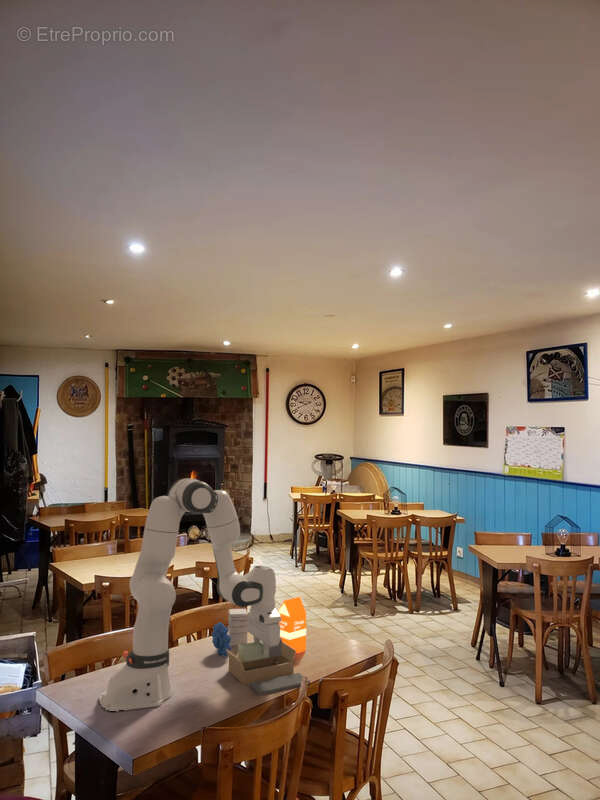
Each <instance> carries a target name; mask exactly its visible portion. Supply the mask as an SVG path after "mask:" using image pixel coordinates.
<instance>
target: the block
mask: <svg viewBox="0 0 600 800" xmlns="http://www.w3.org/2000/svg"><path fill="white" fill-rule="evenodd" d="M262 649H264V643H263V642H262V641H261V640H260V642H254V641H253V642H247V644H240V645H238V646H237V657H238V658H239V659H240V660H241V661H242V662H247V661H253V660H258V659H264V658H270V657H276V656H281V649H282V638H280V642H279V644H278V646H273V647H270V648H269V653H268V655H264V654H262Z"/></svg>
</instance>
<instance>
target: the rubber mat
mask: <svg viewBox="0 0 600 800" xmlns="http://www.w3.org/2000/svg"><path fill="white" fill-rule="evenodd" d="M303 677H304V676H303V675H302V674H301V673H299V672H296V673H294V674H290V675H285V676H281V677H276V678H271V679H267V680H262V681H257V682H252V683H248V687H249V688H250V689H251V690H252V691H254V692H255V693H256V694H257V695H258V696H263V695H268V694H272V693H277V692H280V691H285V690H290V689H294V688H298V687H299V688H300V687H301V686H300V685H301V681H302V678H303ZM308 683H309V684H308V685H311V681H310V680H309V679H308Z"/></svg>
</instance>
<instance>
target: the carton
mask: <svg viewBox="0 0 600 800" xmlns="http://www.w3.org/2000/svg"><path fill="white" fill-rule="evenodd" d="M226 652H227V655H228V656H227V657H228V672H229V673H231V674H232V675H233V676H234V677H235V678H236V679H237V680H238V681H239V682H240V683H242V684H243V685H246V684H247V685H249V683H253V682H258V681H263V680H267V679H272V678H277V677H281V676H286V675H291V674H295V673H294V668H295V667H294V660H295V657H296V650H295V649H293V648H292V647H290V646H288V645H287V644H285V643H284V642H282V649H281V656H276V657H270V658H264V659H258V660H253V661H247V662H242V661H241V660H240V659H239V658H238V656H237V655H235V654H234V653H233V652H231V651H229V650H228V649H226ZM274 663H276V664H275V665H270V664H274ZM268 664H269V666H264V665H268ZM257 666H264V667H261V668H255V669H250V670H245V669H247V668H248V669H249V668H253V667H257Z"/></svg>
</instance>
